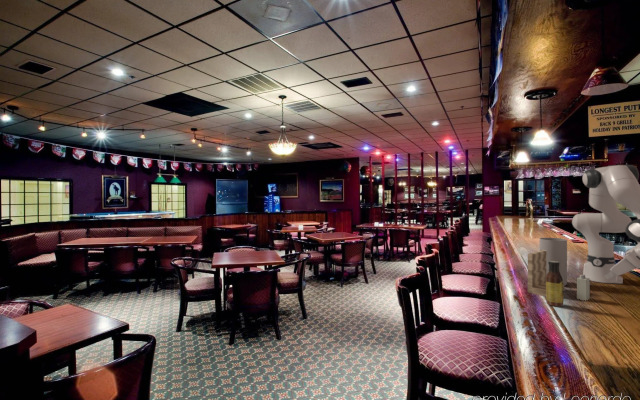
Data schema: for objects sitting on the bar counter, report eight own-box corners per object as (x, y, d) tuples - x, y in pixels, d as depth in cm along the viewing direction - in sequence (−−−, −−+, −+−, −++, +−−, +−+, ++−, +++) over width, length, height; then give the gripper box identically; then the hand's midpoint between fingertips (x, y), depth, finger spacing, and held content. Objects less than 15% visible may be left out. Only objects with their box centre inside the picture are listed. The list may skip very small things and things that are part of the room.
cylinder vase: (543, 284, 174) (543, 240, 173) (537, 279, 185) (537, 237, 185) (570, 287, 169) (570, 241, 169) (562, 281, 181) (562, 238, 180)
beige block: (580, 297, 153) (580, 273, 153) (589, 298, 150) (589, 275, 150) (576, 299, 150) (576, 275, 150) (586, 301, 147) (586, 276, 147)
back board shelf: (542, 286, 171) (542, 249, 171) (564, 290, 163) (564, 252, 163) (527, 292, 161) (527, 253, 161) (550, 297, 153) (550, 256, 152)
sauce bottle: (566, 307, 139) (566, 263, 139) (550, 306, 140) (550, 262, 140) (558, 302, 146) (558, 260, 145) (543, 301, 147) (543, 259, 147)
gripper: (637, 249, 142) (609, 266, 150) (626, 254, 130) (595, 273, 139) (651, 260, 138) (621, 278, 147) (641, 267, 127) (609, 285, 135)
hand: (609, 275), depth 142 cm, fingers open, 8 cm apart
